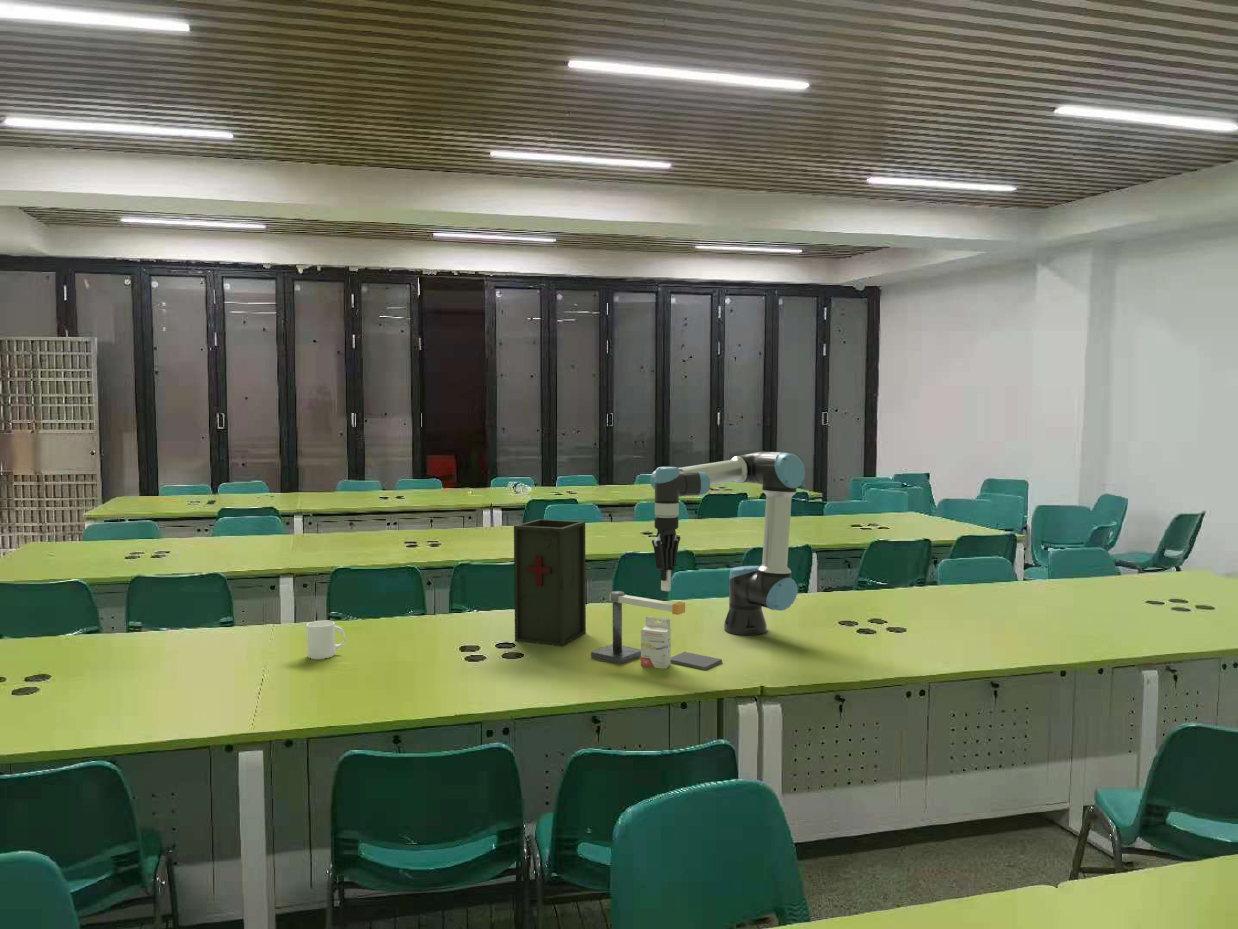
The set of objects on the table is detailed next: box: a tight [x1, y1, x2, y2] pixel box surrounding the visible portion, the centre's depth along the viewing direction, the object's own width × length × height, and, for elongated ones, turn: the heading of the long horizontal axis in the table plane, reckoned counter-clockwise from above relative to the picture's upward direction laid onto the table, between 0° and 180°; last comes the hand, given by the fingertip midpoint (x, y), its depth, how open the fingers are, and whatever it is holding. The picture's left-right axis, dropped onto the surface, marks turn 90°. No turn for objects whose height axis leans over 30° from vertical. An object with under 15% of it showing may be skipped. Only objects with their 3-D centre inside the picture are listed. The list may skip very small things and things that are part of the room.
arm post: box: [590, 602, 641, 666], centre depth 277 cm, size 12×12×18 cm
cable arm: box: [609, 590, 686, 616], centre depth 269 cm, size 27×4×3 cm, turn 53°
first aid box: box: [513, 518, 587, 648], centre depth 300 cm, size 18×18×40 cm
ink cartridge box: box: [640, 616, 672, 670], centre depth 268 cm, size 9×5×15 cm, turn 71°
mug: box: [305, 619, 346, 660], centre depth 279 cm, size 9×12×11 cm
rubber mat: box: [670, 651, 723, 671], centre depth 271 cm, size 10×14×1 cm
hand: (665, 590), depth 271 cm, fingers closed
